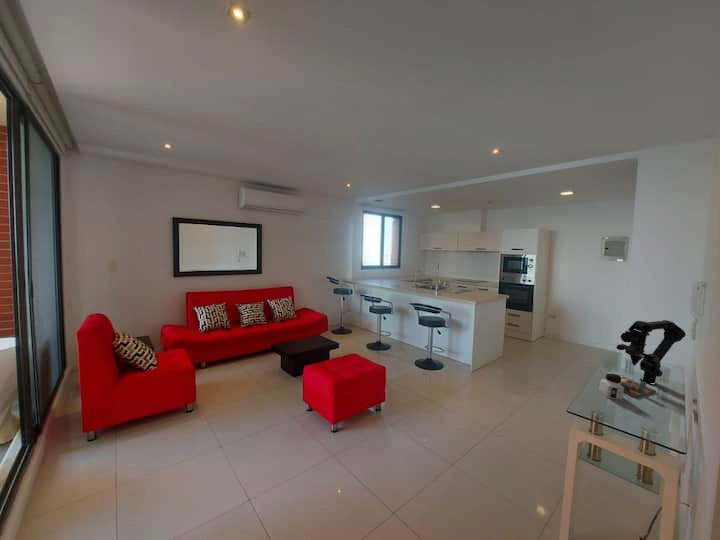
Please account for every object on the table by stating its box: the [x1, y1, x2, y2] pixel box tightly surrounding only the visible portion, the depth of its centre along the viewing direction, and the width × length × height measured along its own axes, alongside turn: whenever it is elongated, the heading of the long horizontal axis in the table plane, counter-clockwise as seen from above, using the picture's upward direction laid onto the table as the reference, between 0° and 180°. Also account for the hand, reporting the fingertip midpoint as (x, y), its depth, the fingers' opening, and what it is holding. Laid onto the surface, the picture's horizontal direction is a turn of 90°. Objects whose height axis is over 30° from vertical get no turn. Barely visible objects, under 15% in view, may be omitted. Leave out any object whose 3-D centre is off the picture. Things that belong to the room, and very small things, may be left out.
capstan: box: [621, 377, 647, 394], centre depth 175 cm, size 14×11×6 cm
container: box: [598, 372, 624, 401], centre depth 168 cm, size 8×8×13 cm
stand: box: [620, 376, 657, 399], centre depth 177 cm, size 20×16×6 cm
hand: (634, 365), depth 182 cm, fingers closed
